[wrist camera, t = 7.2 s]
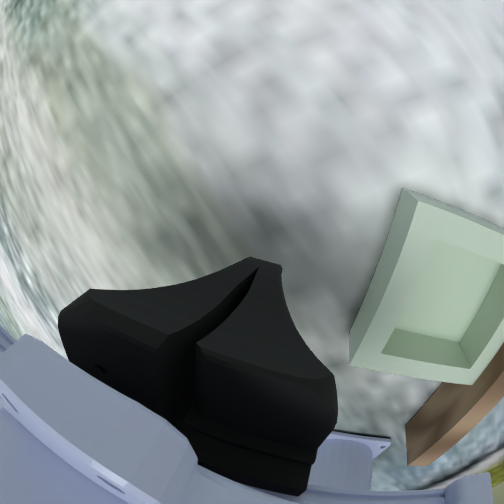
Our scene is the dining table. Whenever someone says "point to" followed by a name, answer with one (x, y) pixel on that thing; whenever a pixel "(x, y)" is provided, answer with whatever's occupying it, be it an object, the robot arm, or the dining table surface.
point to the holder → (433, 296)
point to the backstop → (453, 413)
